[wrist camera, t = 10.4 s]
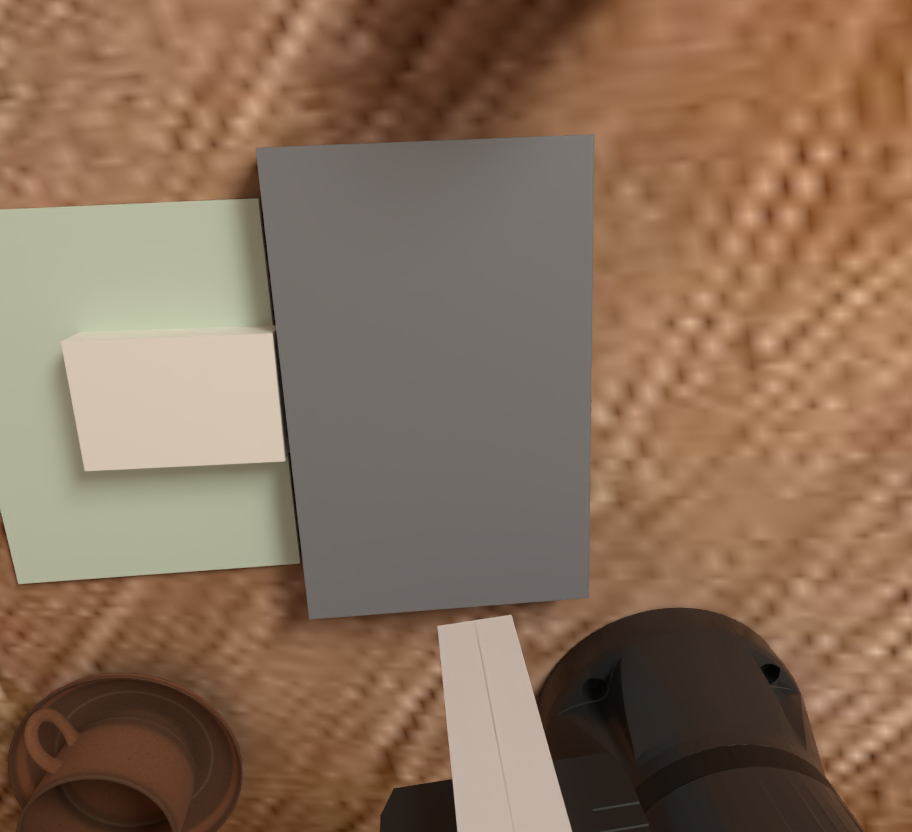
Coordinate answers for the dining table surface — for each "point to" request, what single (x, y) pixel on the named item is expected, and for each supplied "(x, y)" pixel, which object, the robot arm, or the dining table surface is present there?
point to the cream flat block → (177, 397)
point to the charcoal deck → (435, 367)
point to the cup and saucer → (124, 759)
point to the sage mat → (50, 405)
